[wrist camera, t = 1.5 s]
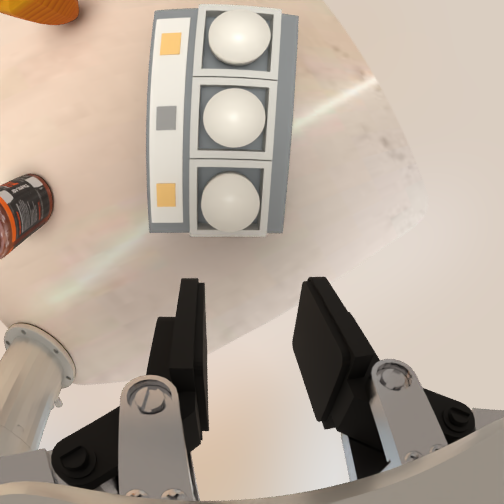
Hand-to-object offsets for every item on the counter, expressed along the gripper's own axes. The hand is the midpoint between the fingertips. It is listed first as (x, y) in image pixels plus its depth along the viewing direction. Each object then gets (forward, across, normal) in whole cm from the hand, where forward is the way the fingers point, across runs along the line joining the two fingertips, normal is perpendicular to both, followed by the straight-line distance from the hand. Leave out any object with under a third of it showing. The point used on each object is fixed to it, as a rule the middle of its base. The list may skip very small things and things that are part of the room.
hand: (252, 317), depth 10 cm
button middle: (+16, 0, -6) cm, 17 cm away
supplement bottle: (+19, +21, 0) cm, 29 cm away
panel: (+19, +1, -6) cm, 20 cm away
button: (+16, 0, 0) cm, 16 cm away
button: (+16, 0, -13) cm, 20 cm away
